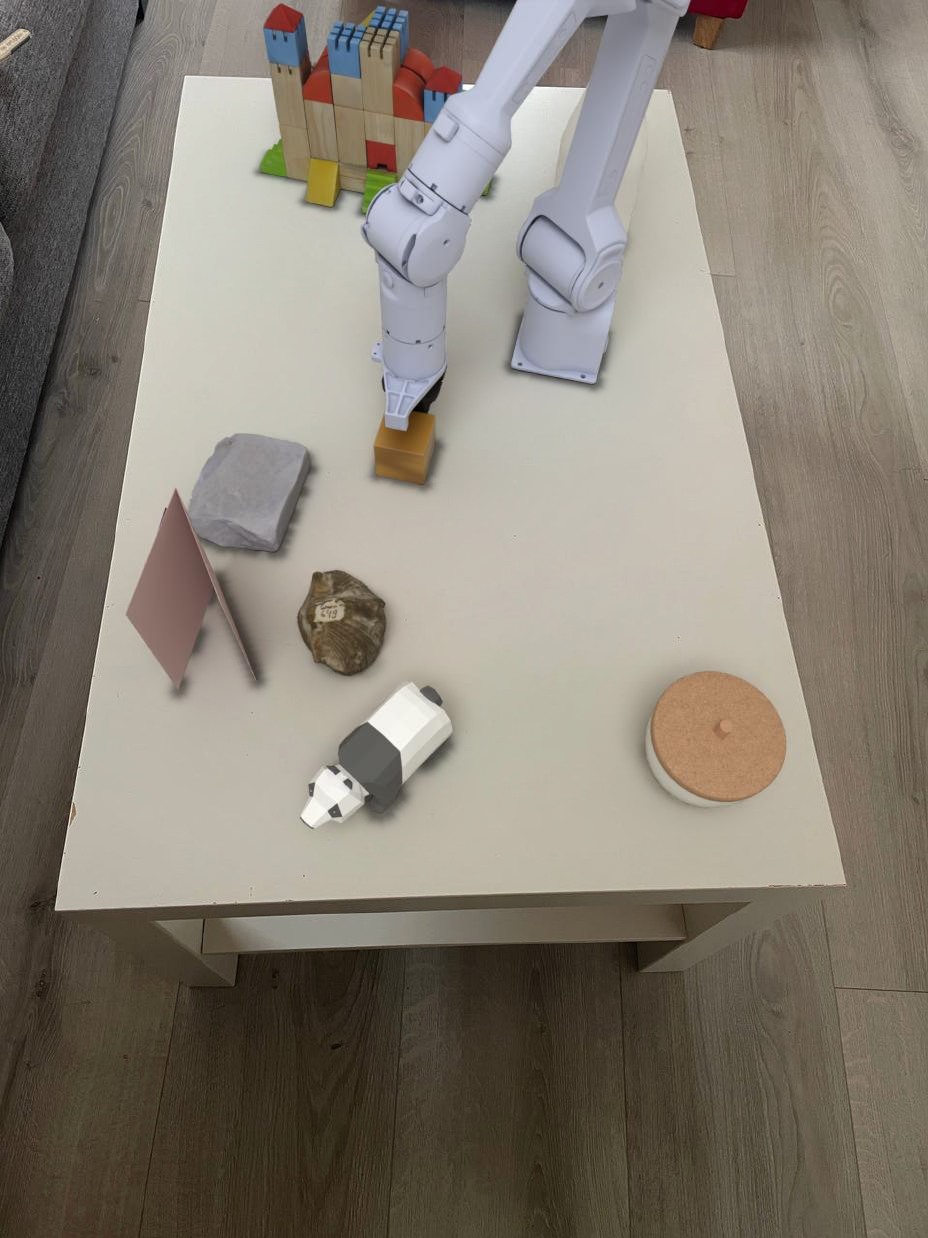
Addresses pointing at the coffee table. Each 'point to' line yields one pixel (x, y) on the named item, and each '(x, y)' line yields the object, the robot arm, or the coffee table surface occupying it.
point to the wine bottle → (632, 173)
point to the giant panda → (379, 755)
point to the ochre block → (406, 449)
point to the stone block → (248, 491)
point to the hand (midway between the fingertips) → (415, 420)
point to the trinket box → (714, 740)
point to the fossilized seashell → (342, 622)
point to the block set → (351, 103)
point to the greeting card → (175, 592)
